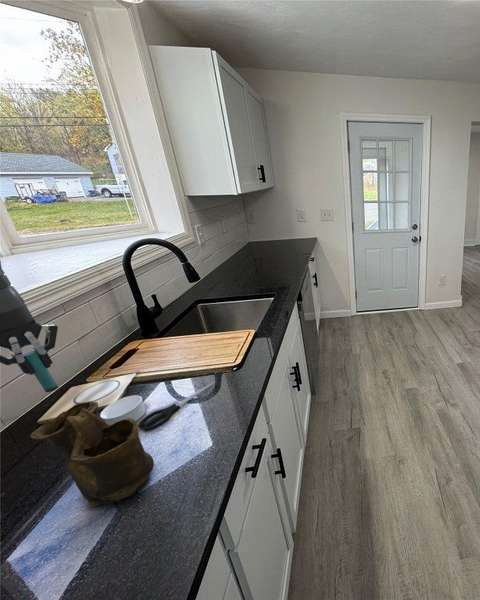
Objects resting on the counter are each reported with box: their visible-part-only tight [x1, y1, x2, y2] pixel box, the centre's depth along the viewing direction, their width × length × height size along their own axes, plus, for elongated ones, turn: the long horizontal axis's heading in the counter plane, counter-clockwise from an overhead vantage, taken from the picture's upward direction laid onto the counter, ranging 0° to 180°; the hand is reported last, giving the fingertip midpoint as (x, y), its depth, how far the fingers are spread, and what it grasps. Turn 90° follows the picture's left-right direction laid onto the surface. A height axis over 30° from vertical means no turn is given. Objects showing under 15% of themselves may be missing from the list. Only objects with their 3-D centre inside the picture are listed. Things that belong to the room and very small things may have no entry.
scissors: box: [138, 381, 215, 432], centre depth 89 cm, size 7×1×20 cm
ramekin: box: [99, 395, 146, 424], centre depth 85 cm, size 9×9×4 cm
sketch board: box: [36, 372, 137, 425], centre depth 95 cm, size 18×16×1 cm
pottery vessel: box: [30, 401, 155, 507], centre depth 63 cm, size 25×11×20 cm, turn 65°
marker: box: [22, 350, 59, 393], centre depth 79 cm, size 2×2×11 cm
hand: (39, 370), depth 78 cm, fingers closed on marker, 2 cm apart
